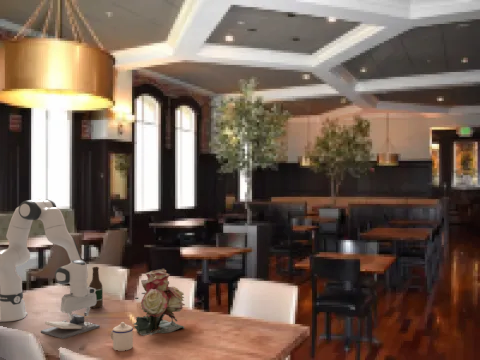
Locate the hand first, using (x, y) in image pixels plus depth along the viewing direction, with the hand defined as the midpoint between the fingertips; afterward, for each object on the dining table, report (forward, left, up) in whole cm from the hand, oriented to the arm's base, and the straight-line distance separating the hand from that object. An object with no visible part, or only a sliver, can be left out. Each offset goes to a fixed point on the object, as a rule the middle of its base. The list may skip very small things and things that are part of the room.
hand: (79, 317), depth 261 cm
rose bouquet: (+38, +22, -5) cm, 44 cm away
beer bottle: (-24, +30, -5) cm, 39 cm away
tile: (+2, -11, 0) cm, 11 cm away
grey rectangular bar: (+2, 0, -3) cm, 4 cm away
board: (+2, -7, -4) cm, 8 cm away
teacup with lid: (+44, -11, -5) cm, 46 cm away
